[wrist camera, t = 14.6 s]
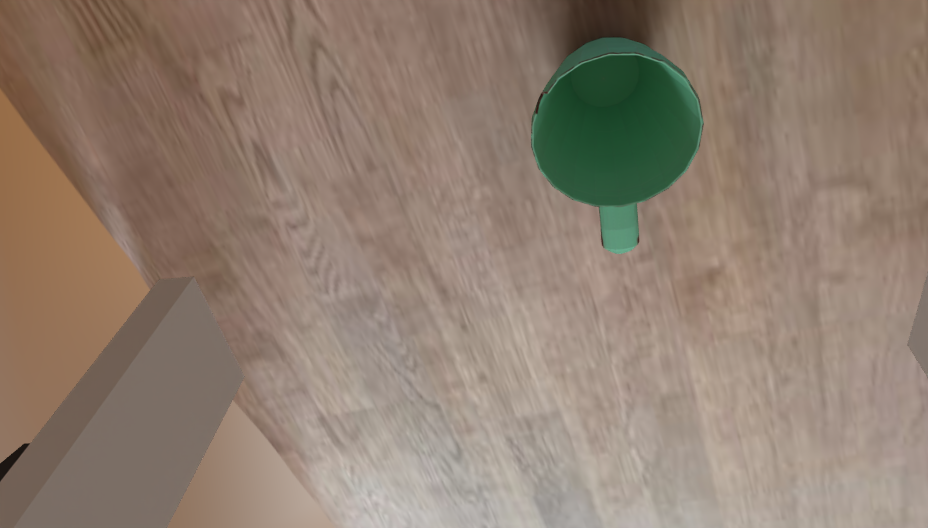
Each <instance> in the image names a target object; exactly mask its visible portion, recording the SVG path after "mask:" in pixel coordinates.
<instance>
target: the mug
mask: <svg viewBox="0 0 928 528" xmlns="http://www.w3.org/2000/svg"><path fill="white" fill-rule="evenodd" d="M703 124H704V123H703V117H702V112H701V106H700V100H699V97H698V95H697V93H696V92H695V90H694V88H693V87H692V85H691V84H690V82H689V80H688V79H687V77H686V75H685V74H684V72H683V71H682V70H681V69H679V68H678V67H677V66H675V65H674V64H673V63H672V62H670V61H669V60H668V59H666V58H665V57H664V56H662V55H661V54H659V53H657V52H656V51H654V50H652V49H651V48H649V47H648V46H646V45H645V44H642V43H639V42H636V41H633V40H629V39H626V38H620V37H610V38H600V39H597V40H594V41H591V42H588V43H586V44H584V45H583V46H582V47H580V48H579V49H577V50H576V51H574V52H573V53H572V54H570V55H569V56H567V57H566V59H565V60H564V61H563V63H562V64H561V65H560V67H559V68H558V70H557V71H556V72H555V74H554V75H553V76H552V78H551V79H550V81H549V82H548V84H547V85H546V87H545V88H544V90H543V92H542V93H541V95H540V97H539V99H538V102H537V105H536V108H535V111H534V113H533V116H532V129H531V148H532V150H533V153H534V156H535V159H536V162H537V165H538V168H539V170H540V171H541V172H542V173H543V175H544V176H545V177H546V179H547V180H548V181H549V182H550V184H551V185H552V186H553V187H554V188H556V189H557V190H559V191H560V192H562V193H563V194H565V195H566V196H568V197H569V198H571V199H572V200H575V201H579V202H582V203H585V204H588V205H592V206H595V207H599V213H600V223H601V239H602V246H603V248H605V249H607V250H609V251H611V252H613V253H616V254H622V253H625V252H628V251H631V250H632V249H633V248H634V247H635V246H636V245H637V244H638V243H639V229H638V214H637V203H640V202H644V201H646V200H648V199H650V198H652V197H654V196H656V195H657V194H659V193H661V192H663V191H665V190H667V189H668V188H669V187H670V186H671V185H672V184H673V183H674V182H676V181H677V180H678V179H679V178H680V177H681V176H682V175H683V174H684V173H685V172H686V171H687V169H688V167H689V166H690V164H691V162H692V160H693V158H694V157H695V155H696V153H697V151H698V149H699V146H700V141H701V135H702V130H703Z"/></svg>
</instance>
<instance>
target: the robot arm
mask: <svg viewBox="0 0 928 528" xmlns="http://www.w3.org/2000/svg"><path fill="white" fill-rule="evenodd" d="M907 345H908V347H909V348H910V350H911V351H912V353H913V355H914V356H915V358H916V360H917V361H918V363H919V364H920V366H921V368H922V369H923V371H924V372H925V374H926V376H927V377H928V273H927V277H926V280H925V284H924V288H923V291H922V295H921V298H920V302H919V305H918V309H917V312H916V316H915V319H914V323H913V326H912V330H911V334H910V337H909V341H908V344H907ZM244 377H245V376H244V374H243V372H242V370H241V368H240V366H239V364H238V362H237V360H236V358H235V356H234V354H233V352H232V351H231V349H230V347H229V345H228V343H227V341H226V339H225V337H224V335H223V333H222V331H221V329H220V327H219V325H218V323H217V321H216V319H215V317H214V315H213V313H212V311H211V309H210V307H209V305H208V303H207V301H206V299H205V297H204V295H203V293H202V291H201V289H200V287H199V285H198V283H197V282H196V280H195V278H194V276H193V277H181V278H168V279H159V280H158V281H157V282H156V284H155V285H154V286H153V287H152V289H151V290H150V291H149V293H148V294H147V295H146V296H145V298H144V299H143V300H142V301H141V303H140V304H139V305H138V307H137V308H136V309H135V311H134V312H133V313H132V314H131V316H130V317H129V318H128V319H127V321H126V322H125V323H124V324H123V326H122V327H121V328H120V330H119V331H118V332H117V333H116V335H115V336H114V338H112V340H111V341H110V342H109V344H108V345H107V346H106V348H105V349H104V350H103V351H102V353H101V354H100V355H99V357H98V358H97V359H96V360H95V362H94V363H93V364H92V365H91V367H90V368H89V369H88V370H87V372H86V373H85V374H84V376H83V377H82V378H81V379H80V381H79V382H78V383H77V384H76V386H75V387H74V388H73V390H72V391H71V392H70V393H69V395H68V396H67V397H66V399H65V400H64V401H63V402H62V404H61V405H60V406H59V407H58V409H57V410H56V411H55V413H54V414H53V415H52V416H51V418H50V419H49V420H48V421H47V423H46V424H45V425H44V427H43V428H42V429H41V430H40V432H39V433H38V434H37V436H36V437H35V438H34V439H33V441H32V442H31V443H29V444H23V445H22V446H21V447H20V448H18V449H17V450H16V451H15V452H14V453H12V454H11V455H10V456H9V457H8V458H6V459H5V460H4V461H3V462H2V463H0V528H167V527H168V525H169V522H170V520H171V519H172V517H173V515H174V513H175V511H176V509H177V507H178V505H179V503H180V501H181V499H182V497H183V495H184V493H185V492H186V490H187V487H188V486H189V484H190V482H191V480H192V478H193V476H194V474H195V472H196V470H197V468H198V466H199V464H200V462H201V460H202V458H203V457H204V455H205V453H206V450H207V449H208V447H209V445H210V443H211V441H212V439H213V437H214V435H215V433H216V431H217V429H218V427H219V425H220V423H221V422H222V420H223V417H224V416H225V414H226V412H227V410H228V408H229V406H230V404H231V402H232V400H233V398H234V396H235V394H236V392H237V390H238V388H239V387H240V385H241V383H242V381H243V379H244Z"/></svg>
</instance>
